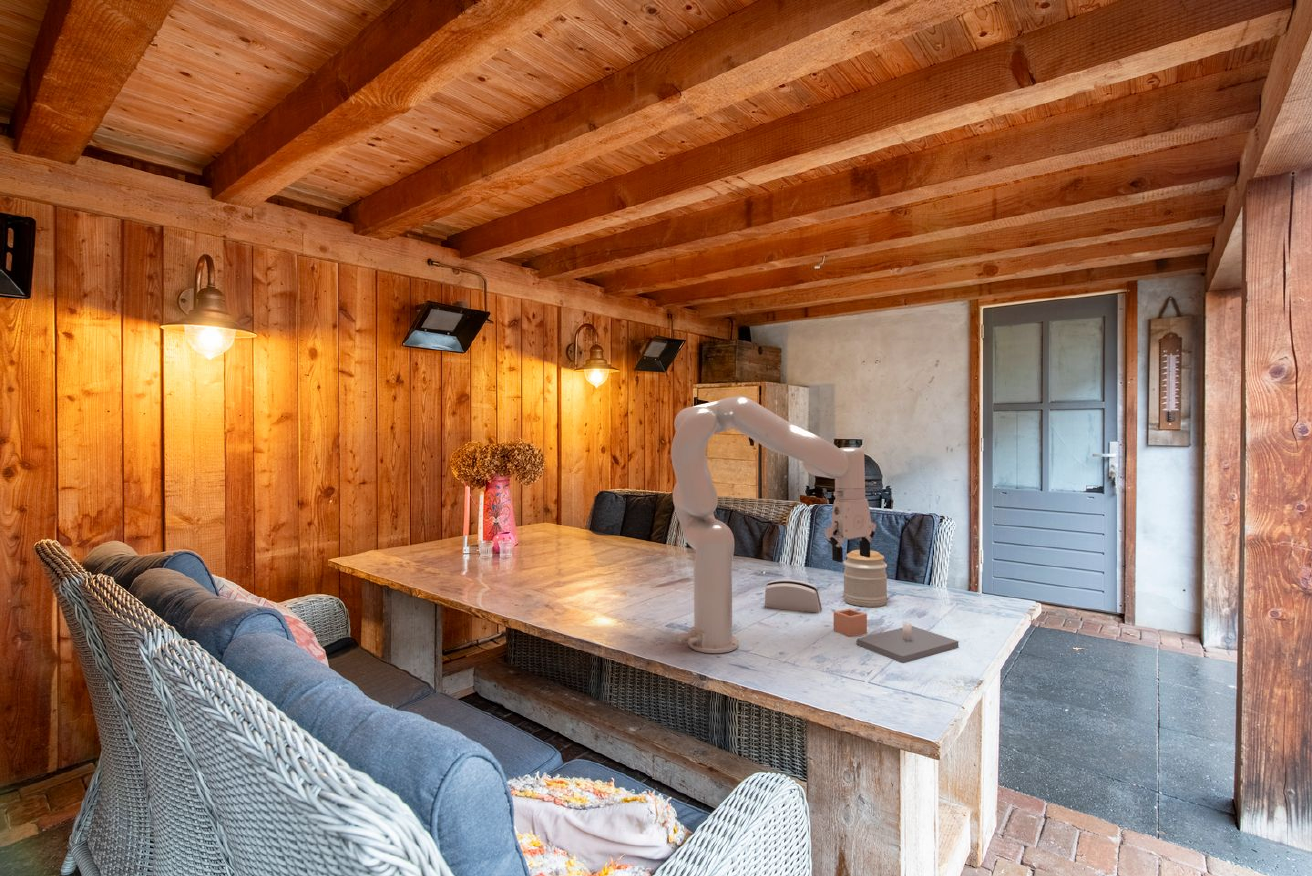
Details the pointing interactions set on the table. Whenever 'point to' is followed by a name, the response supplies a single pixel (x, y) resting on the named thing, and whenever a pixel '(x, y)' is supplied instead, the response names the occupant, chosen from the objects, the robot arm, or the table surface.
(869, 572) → the jar
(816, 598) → the half-round card holder
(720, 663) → the table surface
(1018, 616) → the table surface
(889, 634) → the post plate
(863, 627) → the collar
